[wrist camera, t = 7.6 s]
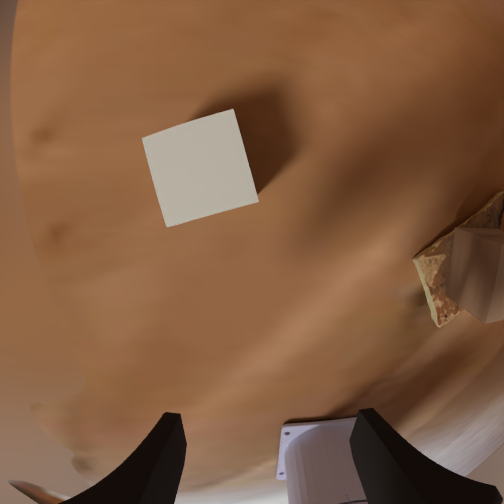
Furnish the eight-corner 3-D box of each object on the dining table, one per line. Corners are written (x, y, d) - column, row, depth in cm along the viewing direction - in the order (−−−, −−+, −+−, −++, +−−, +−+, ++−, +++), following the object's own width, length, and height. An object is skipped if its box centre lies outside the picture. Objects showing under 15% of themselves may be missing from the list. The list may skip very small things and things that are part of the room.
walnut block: (487, 289, 19) (526, 313, 14) (445, 294, 19) (485, 324, 14) (497, 228, 17) (541, 243, 12) (454, 227, 17) (501, 243, 12)
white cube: (256, 195, 18) (258, 201, 14) (186, 214, 18) (166, 227, 14) (237, 124, 17) (233, 108, 13) (166, 145, 17) (141, 138, 13)
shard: (496, 187, 18) (510, 189, 16) (511, 262, 20) (523, 267, 18) (405, 252, 20) (417, 258, 18) (430, 328, 21) (441, 338, 20)
